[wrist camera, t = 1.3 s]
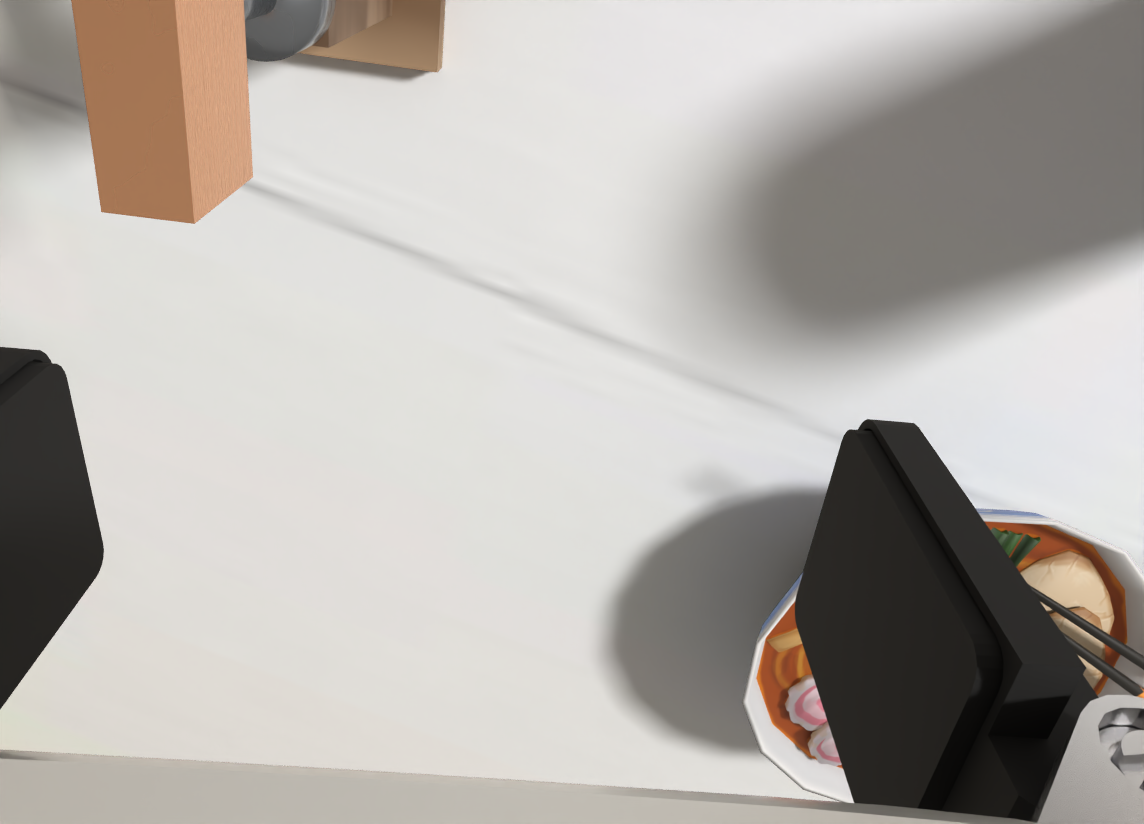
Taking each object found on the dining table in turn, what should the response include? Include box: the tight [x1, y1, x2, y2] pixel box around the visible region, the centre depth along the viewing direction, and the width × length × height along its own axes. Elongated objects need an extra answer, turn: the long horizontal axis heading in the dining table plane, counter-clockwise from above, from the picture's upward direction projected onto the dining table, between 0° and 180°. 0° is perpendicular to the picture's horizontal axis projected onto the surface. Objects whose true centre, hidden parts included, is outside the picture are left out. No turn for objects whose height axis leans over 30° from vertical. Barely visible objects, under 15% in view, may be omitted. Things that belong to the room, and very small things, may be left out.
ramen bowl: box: [742, 509, 1144, 803], centre depth 50 cm, size 25×23×8 cm
